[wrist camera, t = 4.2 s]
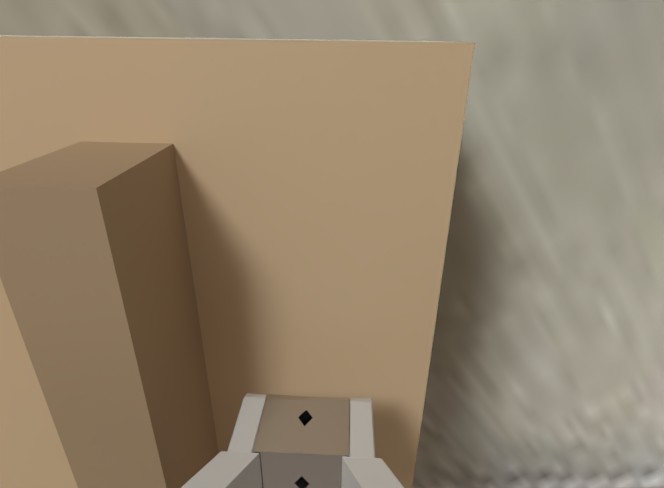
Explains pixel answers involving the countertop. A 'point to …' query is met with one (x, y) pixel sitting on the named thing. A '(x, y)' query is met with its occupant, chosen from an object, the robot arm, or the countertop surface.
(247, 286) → the tan box lid
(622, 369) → the countertop surface
